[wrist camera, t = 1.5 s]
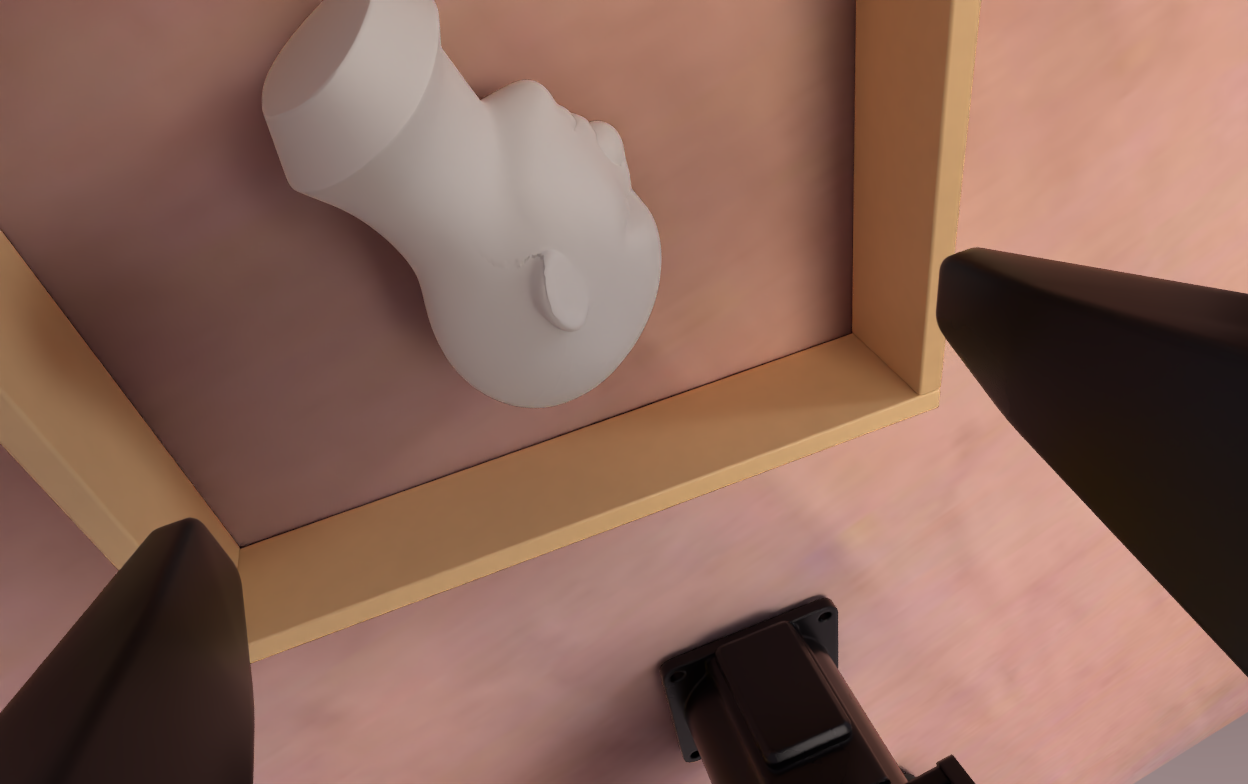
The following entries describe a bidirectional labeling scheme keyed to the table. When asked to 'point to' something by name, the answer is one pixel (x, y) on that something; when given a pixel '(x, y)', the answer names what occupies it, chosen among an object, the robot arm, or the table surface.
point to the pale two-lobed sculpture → (471, 197)
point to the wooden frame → (575, 462)
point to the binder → (909, 777)
